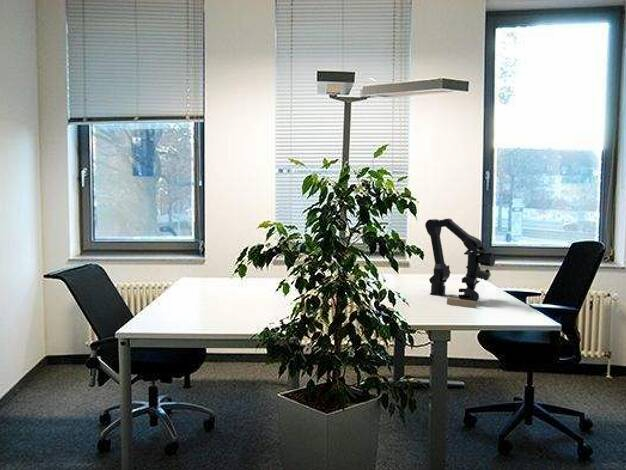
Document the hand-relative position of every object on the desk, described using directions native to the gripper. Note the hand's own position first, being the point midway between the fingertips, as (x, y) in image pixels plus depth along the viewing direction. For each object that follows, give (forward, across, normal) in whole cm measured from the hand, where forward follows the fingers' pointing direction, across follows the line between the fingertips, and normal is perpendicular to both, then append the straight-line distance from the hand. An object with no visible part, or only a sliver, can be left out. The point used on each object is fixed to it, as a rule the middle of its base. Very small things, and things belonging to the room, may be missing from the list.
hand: (471, 294), depth 325 cm
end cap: (+3, -8, 0) cm, 8 cm away
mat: (+2, -10, 0) cm, 10 cm away
